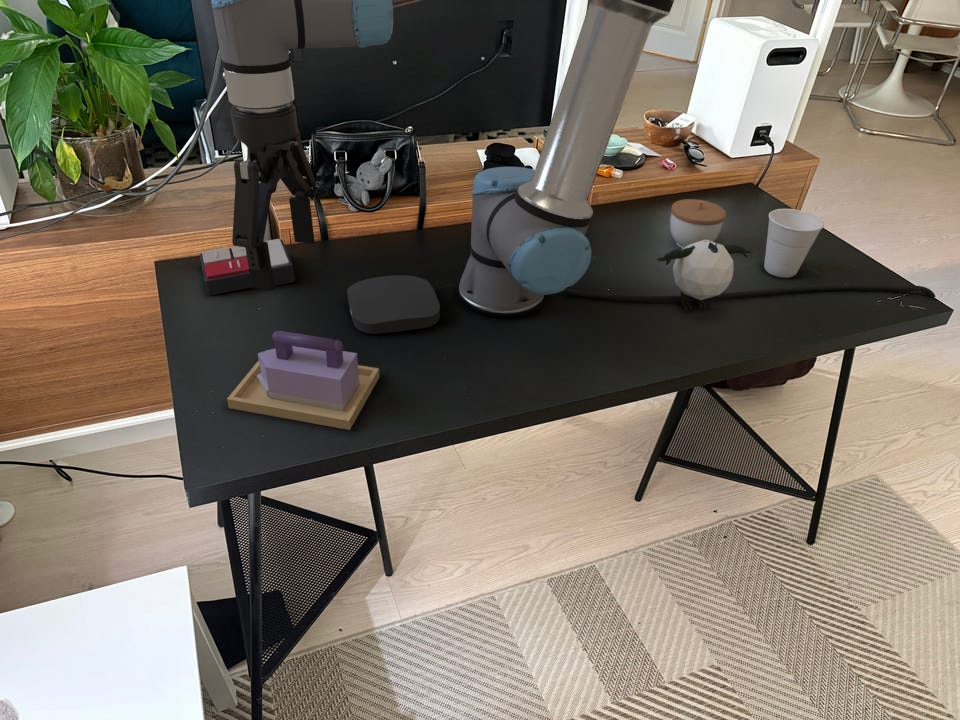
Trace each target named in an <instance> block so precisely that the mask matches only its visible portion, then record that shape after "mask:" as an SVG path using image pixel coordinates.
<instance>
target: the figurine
mask: <svg viewBox="0 0 960 720" xmlns="http://www.w3.org/2000/svg"><path fill="white" fill-rule="evenodd" d="M753 253H754V251H751V250H750V249H747V248H746V247H744V246H742V245H739V244H734V243H731V244H721V243H719V241H718V240H716V242H715V241H714V242H711V241H708V240H702V241H699V242H696V243H692V244H690V245H687V246H686V247H685V248H684V249H683V248H681V249H680V248H675V249H672V250H669V252H667V253H665V254H664V255H663V256H660V257H658V258H656V260H657V261H658V262H665V265H666V266H668V265H669V264H670V263H671V262H672V260H675V261H674V262H673V263H674V264H673V266H672V274H673V279H674V282H675V285H676V286H677V288H678V289H679V290H680V296H681V301H679V303H680V305H681V306H682V309H683V310H684V311H692V310H693V307H692V305H691V303H689V302H690V301H689V299H690V296H691V297H694V298H696V299H695V300H693V301H694V303H695V304H696V306H697V307H698V308H699V309H707V308H708V306H707V304H706V303H705V301H704V300H703V299H707V298H710V297H714V296H718V295H720V294H721V293H724V291H726V289H728V288H729V286H730V284H731V282H732V280H733V275H734V260H733V258H732V256H731V255H733V254H734V255H735V254H740V255H742V256H743V257H744V258H745V257H746V258H748V257H749V256H748V254H753Z"/></svg>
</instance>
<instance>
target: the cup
mask: <svg viewBox="0 0 960 720" xmlns="http://www.w3.org/2000/svg"><path fill="white" fill-rule="evenodd" d="M824 227H825V223H824V221H823V220H822V219H821V218H820V217H819V216H818V215H815V214H813V213H812V212H811V213H810V212H807V211H804V210H800V209H796V208H795V209H794V208H776V209H774V210H772V211H770V212H769V213H768V227H767V236H766V237H767V238H766V244H765V245H766V247H765V253H764V255H765V256H764V263H763V268H764V270H765V271H766V272H767V273H768V274H769V275H772V276H774V277H776V278H777V277H778V278H784V279H785V278H786V279H787V278H792V277H794V276H796V275H797V274H798V272H799V270H800V268H801V267H802V265H803V262H805V259H806V257H807V255H808V254H809V252H810V250H811V248H812V246H813V244H814V243H815V241H816V239H817V238H818V236H819V234H820V232H821V230H822V229H823V228H824Z"/></svg>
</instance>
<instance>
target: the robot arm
mask: <svg viewBox="0 0 960 720" xmlns="http://www.w3.org/2000/svg"><path fill="white" fill-rule="evenodd" d="M422 1H423V0H210V3H211V8H212V15H213V20H214V24H215V30H216V36H217V41H218V48H219V52H220V57H221V58H220V59H221V63H222V68H223V72H222V78H223V79H224V81H225V86H226V92H227V97H228V102H229V103H230V104H231V105H232V106H231V108H230V109H229V113H230V119H231V124H232V128H233V129H232V130H233V135H234V137H235V139H236V140H237V141H239V142H241V143H242V144H243V145H244V146H245V147H246V152H247V155H246V160H238V159H237V160H235V161H234V162H233V172H234V180H235V182H234V183H235V184H234V185H235V186H234V200H233V201H234V204H233V218H232V219H233V220H232V240H231V241H232V246H239V247H245V249H246V255H247V261H248V266H249V272H250V278H251V283H252V287H251V289H253V290H254V289H255V290H261V291H269V292H273V291H274V290H275V289H276V286H274V280H273V273H272V267H271V261H270V254H269V248H268V242H264V241H265V235H266V229H267V223H268V217H269V211H270V206H271V205H270V204H271V199H272V195H273V194H274V193H276V191H277V188H278V183H279V182H280V180H281V182H282V183H283V184H284V186H285V187H286V189H287V190H288V191H289V193H290V194H291V195H292V196H290V198H288V203H289V209H290V216H291V224H292V232H293V240H294V243H301V244H309V245H314V243H315V241H316V240H315V233H314V224H313V215H312V206H311V199H310V198H313V199H315V198H316V197H317V194H318V193H317V189H316V185H317V184H316V183H317V182H316V178H315V176H314V173H313V170H312V167H311V164H310V163H309V160H308V157H307V154H306V152H305V149H304V147H303V143H302V137H301V132H300V129H299V125H298V118H297V117H298V115H297V109H296V106H295V105H294V103H293V101H294V100H296V99H295V98H296V96H295V88H294V80H293V73H292V66H291V59H290V50H303V49H331V48H332V49H334V48H337V49H338V48H360V49H364V48H366V47H372V46H374V47H375V46H381V45H385V44H387V43H388V42H389V41H390V40H391V38H392V34H393V28H394V9H395V8H399V7H402V6H407V5H410V4H411V5H412V4H413V3H417V2H422ZM587 2H588V7H587V9H586V13H585V15H584V19H583V23H582V25H581V28H580V32H579V35H578V37H577V40H576V44H575V47H574V50H573V52H572V56H571V59H570V62H569V65H568V67H567V70H566V74H565V77H564V80H563V83H562V87H561V88H560V89H561V90H560V92H559V95H558V99H557V102H556V105H555V108H554V111H553V114H552V117H551V119H550V123H549V126H548V129H547V132H546V135H545V138H544V141H543V145H542V147H541V151H540V155H539V157H538V160H537V162H536V166H535V168H534V169H533V168H528V167H523V166H497V167H491V168H486V169H484V170H482V171H481V170H480V171H479V172H478V173H476V175H475V176H474V178H473V185H472V191H471V195H472V196H471V197H472V198H471V227H470V228H471V229H470V231H471V233H470V255H469V258H467V261H466V263H465V268H464V270H463V272H462V275H461V278H460V281H459V285H458V298H459V300H460V301H461V303H462V304H463V305H464V306H465V307H466V308H468V309H470V310H471V311H473V312H474V313H477V314H480V315H484V316H487V317H493V318H505V319H507V318H508V319H509V318H519V317H523V316H526V315H529V314H531V313H534V312H535V311H537V310H538V309H540V308H541V307H542V305H543V303H544V301H545V296H549V295H550V296H551V295H555V294H558V293H563V294H566V295H567V294H568V295H572V296H577V297H585V298H591V299H598V300H599V299H600V300H610V301H621V302H623V301H625V302H680V301H681V295H626V294H612V293H602V292H601V293H600V292H593V291H584V290H579V289H573V288H571V287H572V286H574V285H575V284H576V283H578V282H579V280H581V279H582V277H584V275H585V274H586V272H587V271H588V268H589V267H590V264H591V261H592V247H591V243H590V241H589V238H588V237H587V236H586V233H587V231H588V228H589V226H590V223H591V220H592V217H593V214H594V210H593V207H592V206H591V203H590V201H589V196H590V194H591V191H592V188H593V186H594V182H595V179H596V178H597V174H598V172H599V169H600V166H601V164H602V161H603V158H604V157H605V153H606V151H607V148H608V145H609V142H610V140H611V137H612V134H613V133H614V129H615V127H616V124H617V120H618V119H619V115H620V113H621V110H622V108H623V106H624V105H623V104H624V102H625V100H626V97H627V95H628V92H629V89H630V86H631V83H632V81H633V78H634V76H635V72H636V70H637V68H638V65H639V62H640V60H641V57H642V54H643V52H644V49H645V46H646V43H647V41H648V38H649V35H650V32H651V31H652V27H653V26H654V25H655V24H656V23H658V22H660V21H661V20H663V19H664V18H667V17H668V16H670V13H671V10H672V8H673V5H674V2H675V0H587ZM569 287H570V288H569ZM917 288H918V289H917ZM919 289H920V290H921V291H920V290H919ZM815 291H817V292H819V291H890V292H909V291H910V292H922V293H925V294H926V295H927V296H928V295H929V296H928V297H929V298H933V299H934V298H936V294H935V292H933V290H931V289H930V288H929V287H926V286H922V285H890V284H889V285H886V284H821V285H802V286H789V287H778V288H776V287H775V288H767V289H755V290H747V291H745V290H744V291H734V292H733V291H732V292H722V293H721V294H720V295H718V296H714V297H710V298H707V299H703V301H709V300H710V301H711V300H723V299H735V298H744V297H757V296H765V295H766V296H767V295H776V294H777V295H778V294H789V293H801V292H815ZM930 296H931V297H930ZM695 299H696V298H694V297H691V296H690V299H689V302H693V301H694V300H695Z"/></svg>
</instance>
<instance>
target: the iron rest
mask: <svg viewBox="0 0 960 720" xmlns="http://www.w3.org/2000/svg"><path fill="white" fill-rule="evenodd" d="M358 372H359V386H358V388H357V389H356V391H355V393H354V394H353V396H352V398H351V399H350V401H349V403H348V404H347V406H346V408H345V409H344V411H337V410H332V409H326V408H320V407H315V406H309V405H304V404H298V403H292V402H287V401H281V400H275V399H270V396H268V397H267V395H266V393H265V392H264V390H263V389H262V387H261V385H260V384H259V382H258V379H257V375H258V374H261V370H260V364H259V360H257V362H256V363H255V364H254V365H253V366H252V368H251V369H250V370H249V371H248V372H247V374H246V375H245V376H244V378H243V379H242V380H241V381H240V382H239V384H238V385H237V386H236V387H235V389H233V391H232V392H231V393H230V395H228V397H227V398H226V401H227V405H228V409H231V410H237V411H242V412H249V413H253V414H257V415H258V414H259V415H263V416H269V417H270V416H271V417H276V418H281V419H286V420H292V421H297V422H304V423H308V424H314V425H319V426H324V427H329V428H337V429H342V430H347V431H351V429H352V427H353V425H354V423H355V422H356V420H357V418H358V416H359V415H360V413H361V411H362V409H363V408H364V406H365V404H366V402H367V401H368V398H370V395H371V393H372V391H373V390H374V388H375V386H376V384H377V383H378V381H379V379H380V368H378V367H372V366H367V365H359V364H358Z"/></svg>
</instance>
